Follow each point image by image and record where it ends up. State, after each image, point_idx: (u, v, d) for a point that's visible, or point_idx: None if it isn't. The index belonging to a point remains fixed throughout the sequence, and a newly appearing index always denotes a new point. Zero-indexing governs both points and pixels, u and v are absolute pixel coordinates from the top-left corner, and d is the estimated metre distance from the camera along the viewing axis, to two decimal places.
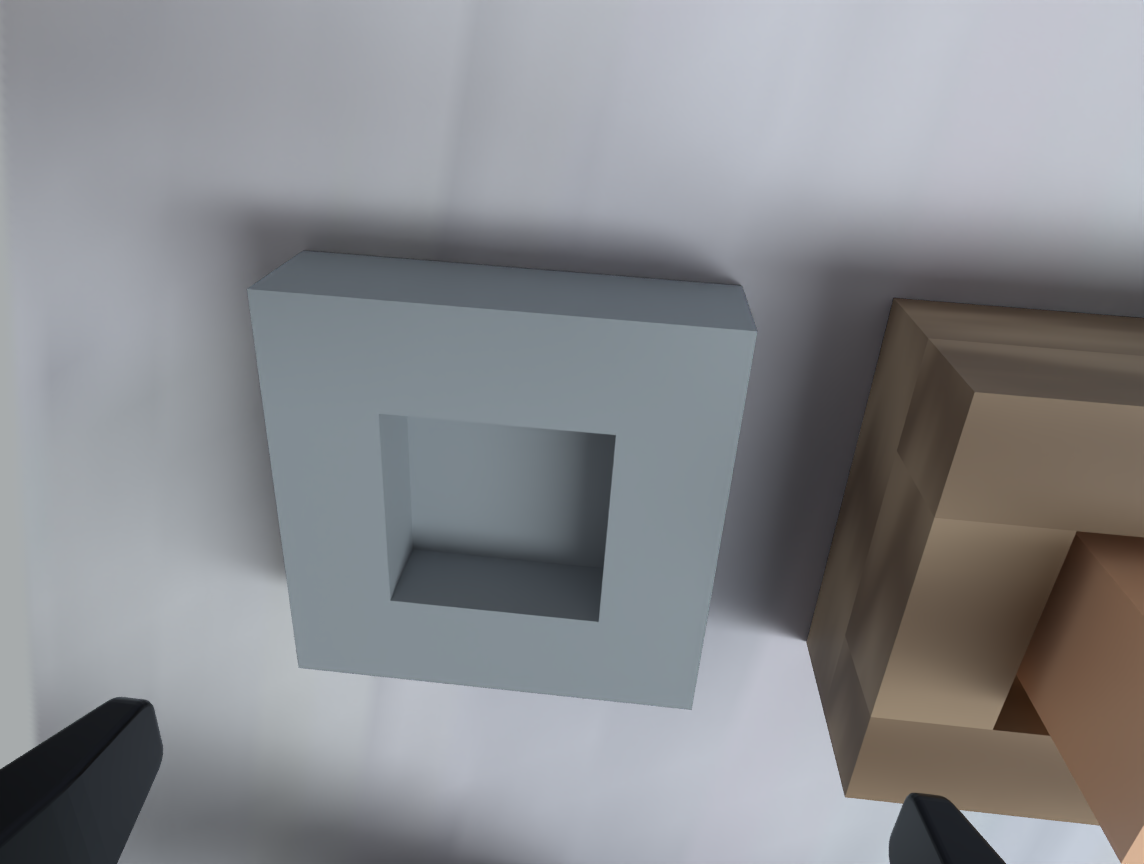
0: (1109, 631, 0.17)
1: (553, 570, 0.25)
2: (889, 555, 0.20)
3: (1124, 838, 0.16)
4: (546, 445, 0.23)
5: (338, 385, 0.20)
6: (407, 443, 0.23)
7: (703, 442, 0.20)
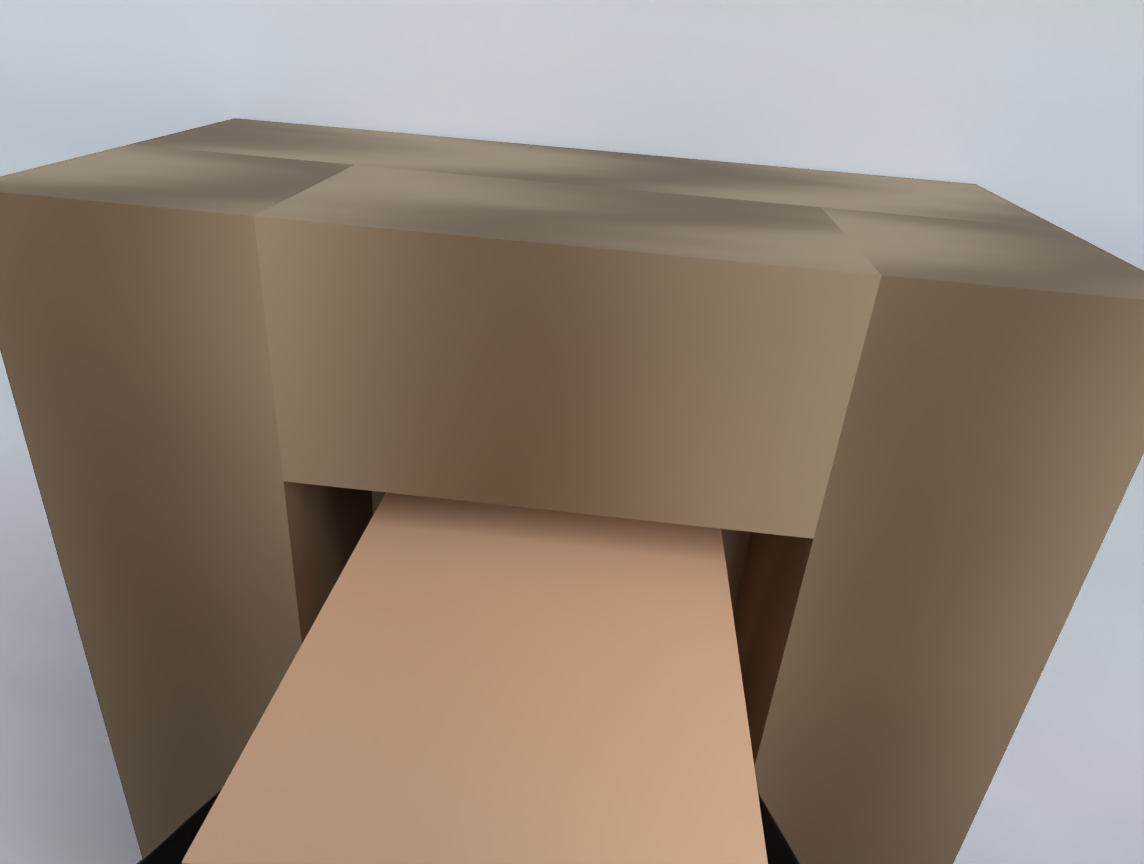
0: None
1: None
2: None
3: None
4: None
5: None
6: None
7: None
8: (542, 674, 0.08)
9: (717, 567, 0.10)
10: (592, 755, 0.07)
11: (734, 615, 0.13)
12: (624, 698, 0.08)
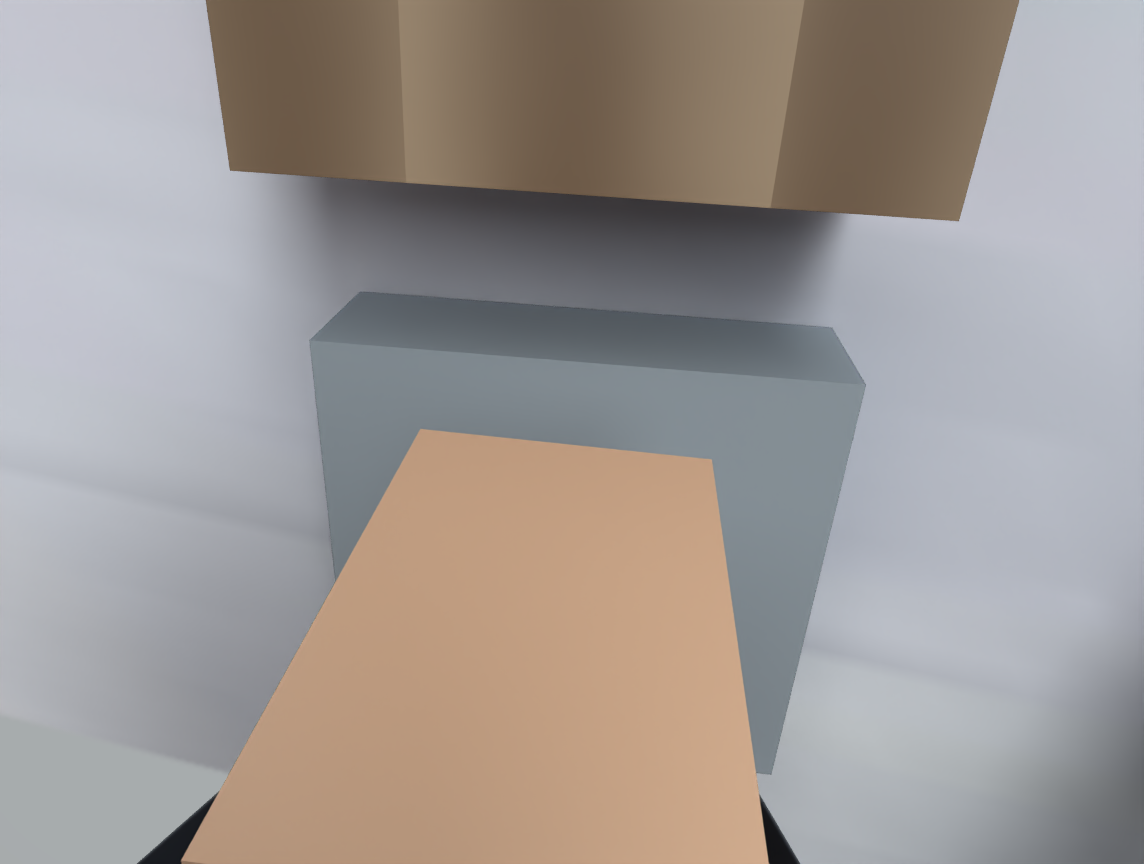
0: None
1: None
2: None
3: None
4: None
5: None
6: None
7: (446, 384, 0.18)
8: (542, 673, 0.08)
9: (717, 566, 0.10)
10: (592, 753, 0.07)
11: None
12: (624, 696, 0.08)
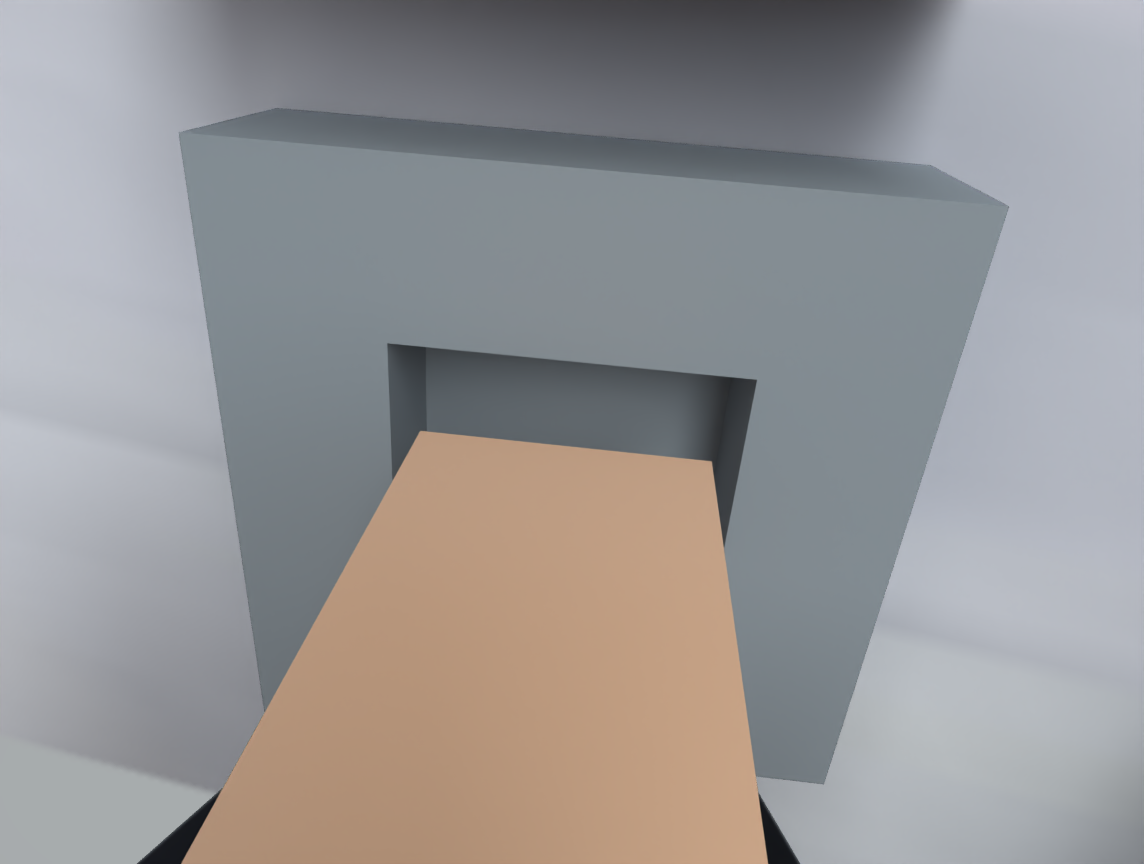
0: None
1: (729, 407, 0.15)
2: None
3: None
4: (517, 397, 0.16)
5: None
6: None
7: (383, 207, 0.12)
8: (542, 677, 0.08)
9: (717, 568, 0.10)
10: (593, 755, 0.07)
11: None
12: (624, 699, 0.08)
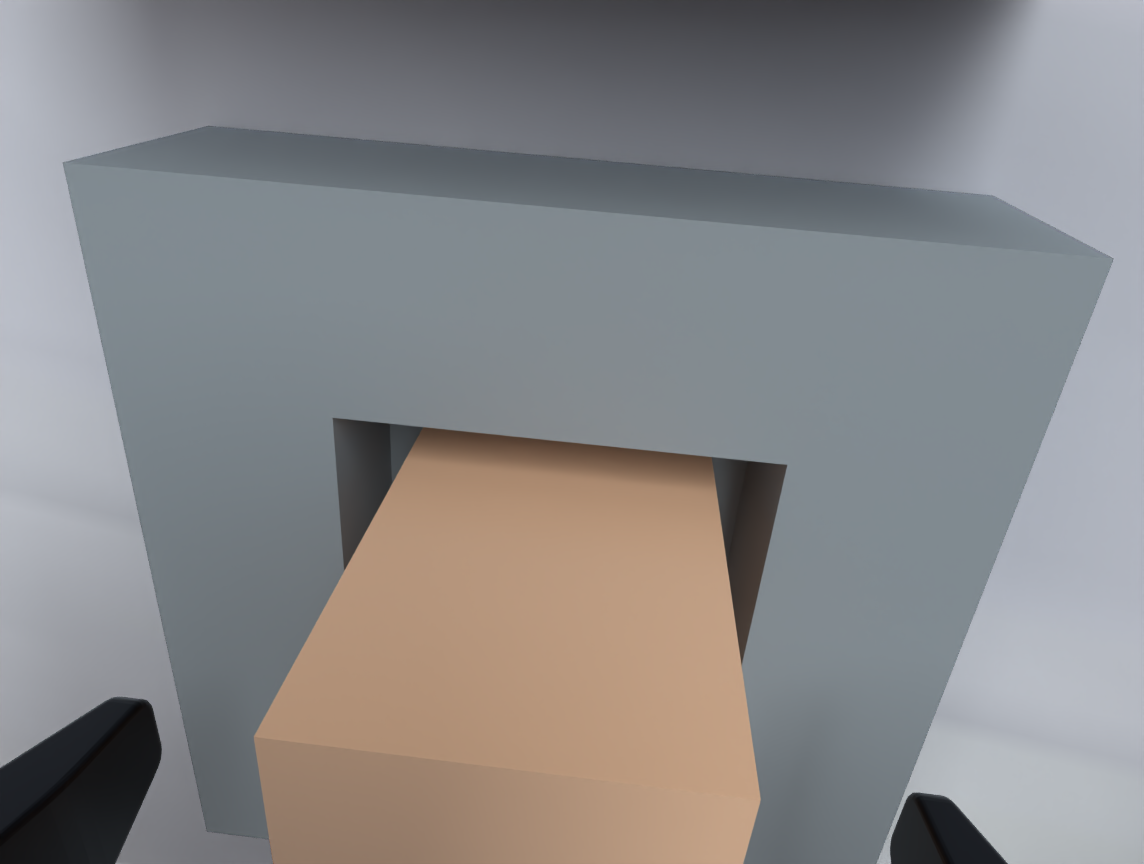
0: None
1: (748, 480, 0.13)
2: None
3: None
4: None
5: None
6: None
7: (322, 254, 0.10)
8: (556, 599, 0.09)
9: (711, 515, 0.11)
10: (602, 661, 0.08)
11: None
12: (629, 618, 0.09)
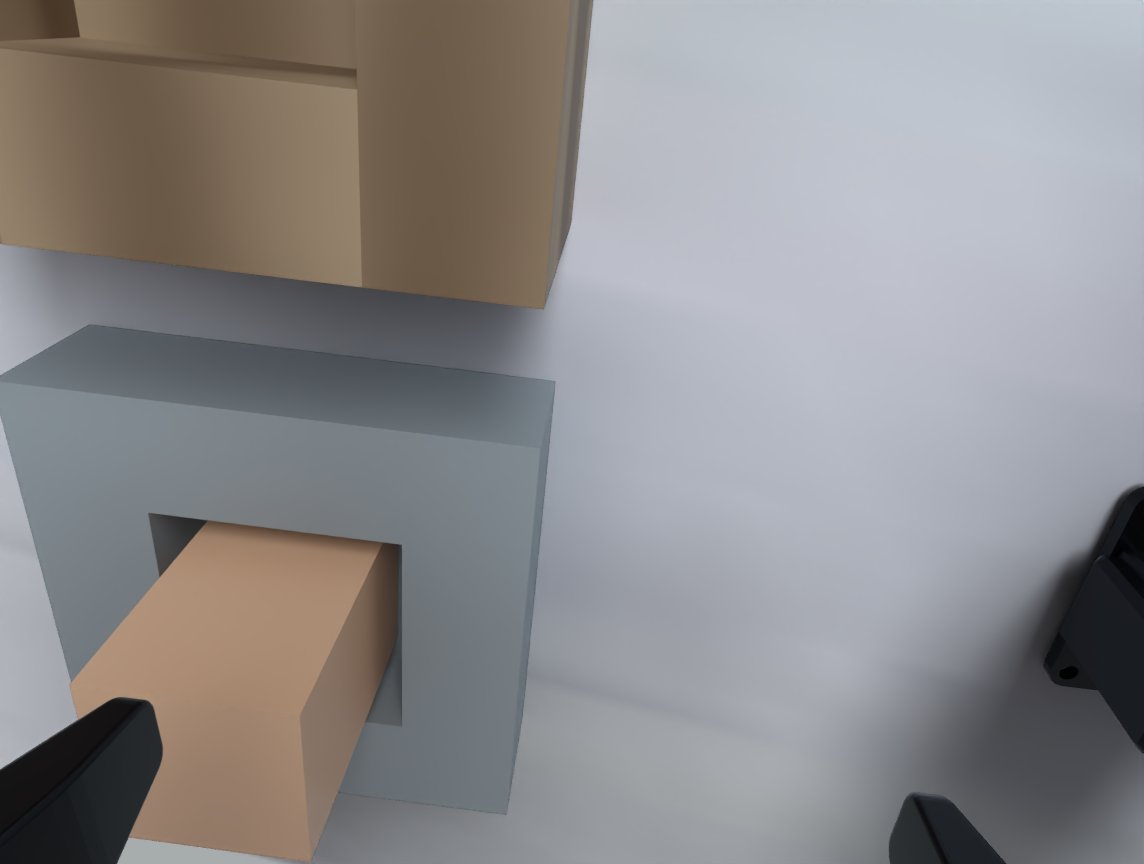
0: None
1: None
2: None
3: None
4: None
5: None
6: None
7: (134, 429, 0.18)
8: (248, 620, 0.17)
9: (364, 571, 0.19)
10: (256, 652, 0.16)
11: None
12: (282, 630, 0.17)
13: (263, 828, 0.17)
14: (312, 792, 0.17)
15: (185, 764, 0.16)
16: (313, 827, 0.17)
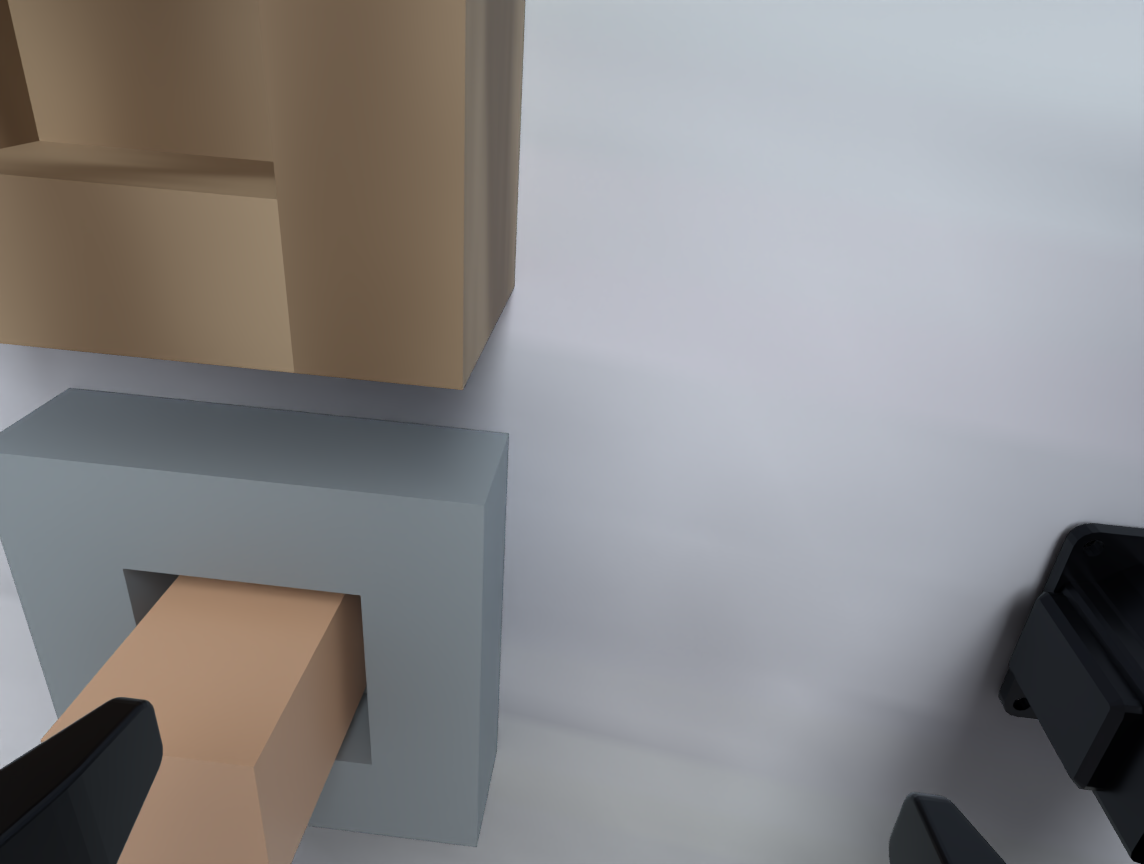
0: None
1: None
2: None
3: None
4: None
5: None
6: None
7: (106, 492, 0.19)
8: (212, 672, 0.18)
9: (326, 620, 0.20)
10: (217, 704, 0.17)
11: None
12: (244, 682, 0.18)
13: None
14: (273, 835, 0.17)
15: (152, 812, 0.17)
16: None
